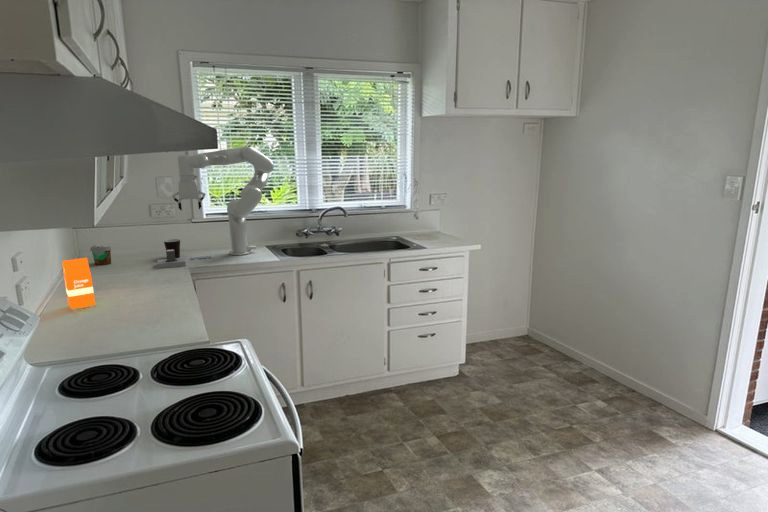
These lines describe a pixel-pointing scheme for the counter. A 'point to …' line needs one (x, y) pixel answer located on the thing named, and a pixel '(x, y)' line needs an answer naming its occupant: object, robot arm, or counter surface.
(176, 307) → the counter surface
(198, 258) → the phone
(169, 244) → the coffee mug
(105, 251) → the food container
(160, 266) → the outlet plate
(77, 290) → the orange juice
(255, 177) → the robot arm
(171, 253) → the charger
